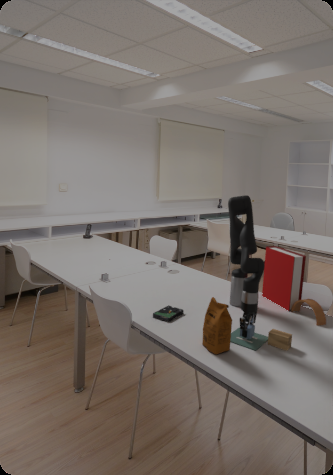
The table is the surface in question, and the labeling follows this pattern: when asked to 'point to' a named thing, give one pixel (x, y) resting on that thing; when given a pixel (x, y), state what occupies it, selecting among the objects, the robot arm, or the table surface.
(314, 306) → the arch
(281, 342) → the block
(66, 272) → the table surface
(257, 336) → the letter board
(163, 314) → the disk drive
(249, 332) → the blue cube
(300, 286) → the book
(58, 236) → the table surface
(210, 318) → the coffee package
